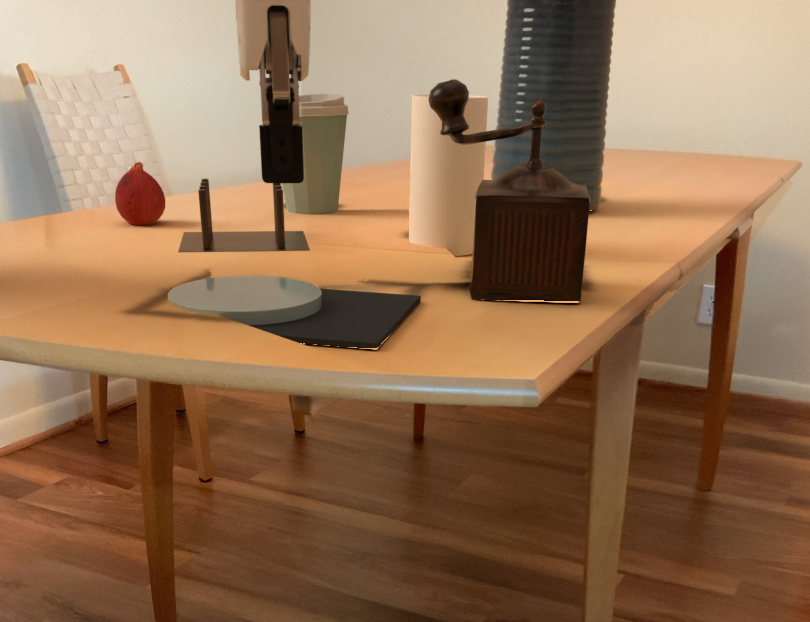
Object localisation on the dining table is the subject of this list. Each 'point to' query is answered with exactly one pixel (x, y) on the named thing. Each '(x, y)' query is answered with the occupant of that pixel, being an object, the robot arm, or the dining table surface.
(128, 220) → the pomegranate
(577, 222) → the manual coffee grinder
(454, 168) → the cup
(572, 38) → the vase
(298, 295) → the plate
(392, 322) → the mat
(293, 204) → the disposable coffee cup
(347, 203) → the dining table surface
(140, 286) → the dining table surface
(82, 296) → the dining table surface
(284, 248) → the rack
